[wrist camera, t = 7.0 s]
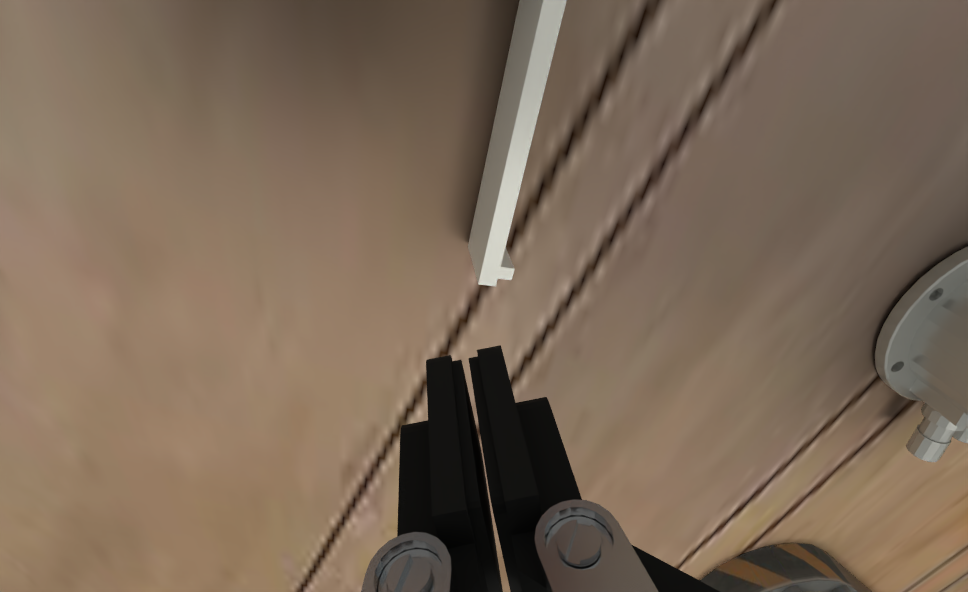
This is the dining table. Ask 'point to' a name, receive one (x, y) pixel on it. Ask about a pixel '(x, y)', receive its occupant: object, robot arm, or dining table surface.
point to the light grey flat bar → (513, 135)
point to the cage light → (784, 572)
